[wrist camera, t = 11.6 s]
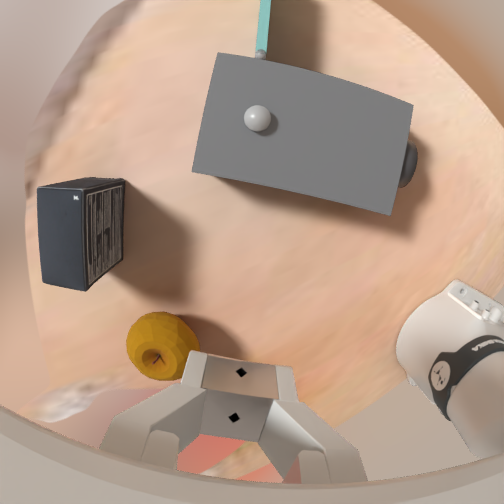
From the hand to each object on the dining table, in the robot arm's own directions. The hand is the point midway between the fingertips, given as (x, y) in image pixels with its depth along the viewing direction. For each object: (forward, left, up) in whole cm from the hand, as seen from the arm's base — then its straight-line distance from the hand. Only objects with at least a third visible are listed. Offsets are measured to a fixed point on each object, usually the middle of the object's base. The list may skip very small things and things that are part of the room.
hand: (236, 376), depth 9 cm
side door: (+3, -23, -29) cm, 37 cm away
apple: (+7, +17, -29) cm, 35 cm away
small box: (+18, +4, -29) cm, 35 cm away
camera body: (-5, -10, -29) cm, 31 cm away
